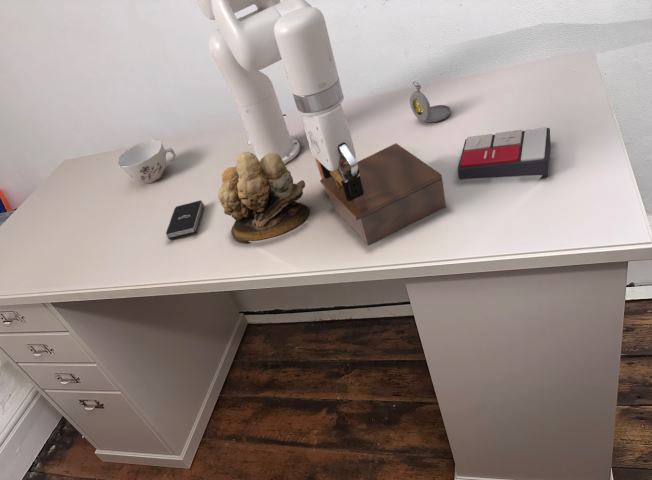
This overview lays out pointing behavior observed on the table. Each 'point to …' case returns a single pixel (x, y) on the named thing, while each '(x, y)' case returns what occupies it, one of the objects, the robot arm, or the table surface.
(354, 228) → the chest
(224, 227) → the table surface
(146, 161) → the teacup
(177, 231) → the external hard drive
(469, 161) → the calculator
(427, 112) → the pocket watch
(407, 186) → the lid
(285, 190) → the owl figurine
